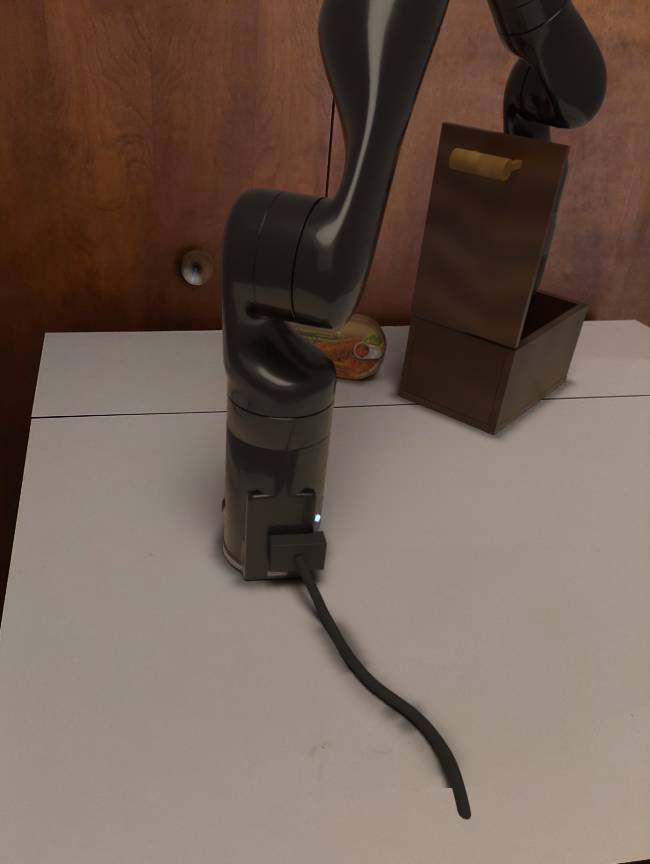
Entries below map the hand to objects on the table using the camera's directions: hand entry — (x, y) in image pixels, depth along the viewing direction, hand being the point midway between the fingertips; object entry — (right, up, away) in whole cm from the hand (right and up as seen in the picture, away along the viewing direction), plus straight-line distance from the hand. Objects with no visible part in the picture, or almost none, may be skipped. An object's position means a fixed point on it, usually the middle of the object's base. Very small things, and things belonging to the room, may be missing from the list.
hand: (486, 373), depth 106 cm
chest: (0, -2, +1) cm, 2 cm away
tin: (-21, +1, +4) cm, 21 cm away
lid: (-6, +11, -18) cm, 22 cm away
